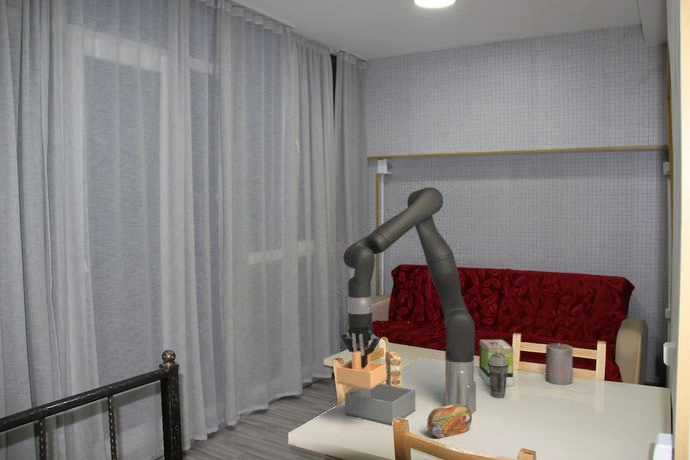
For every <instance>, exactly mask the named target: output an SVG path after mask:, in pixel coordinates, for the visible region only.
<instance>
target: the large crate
mask: <svg viewBox="0 0 690 460" xmlns="http://www.w3.org/2000/svg"><path fill="white" fill-rule="evenodd" d="M344 412H345V413H344V415H345V416H349V417H353V418H357V419H361V420H366V421H370V422H375V423H379V424H382V425H387V426H392V422H393V419H394V418H397V417H399V418H404V419H406V418H407V417H408V416H410V415H411V414H413V413H414V412H416V389H412V388H411V389H410V388H407V387H402V386H401V387H396V386H391V385H386V383H385V384H384V383H381V384H379V385H377V386H375V387H374V388H372V389H366V388H360V387H355V388H354V389H352V390H350V391H348V392H346V393H345V394H344ZM392 427H393V426H392Z"/></svg>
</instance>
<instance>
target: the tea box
mask: <svg viewBox="0 0 690 460" xmlns="http://www.w3.org/2000/svg"><path fill="white" fill-rule="evenodd" d="M498 340H499V353H501V354H503V355H505V356H506V358H507V360H508V364H509V366H508V371H507V379H506V387H513V386H514V347H513V346H511V345H510V344H509V343H508V342H507V341H505V340H504V339H479V353H478V354H479V356H478V357H479V358H478V359H479V361H478V362H479V365H478V367H479V368H478V369H479V371H478V372H479V373H478V375H479V376H480V377H481V379H482V380H483V381H484V383H485V384H486V385H487V386H490V387H491V384H490V372H489V367H488V360H489V358H490V356H491V355H492V354H494V353H498Z"/></svg>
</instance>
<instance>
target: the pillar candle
mask: <svg viewBox="0 0 690 460" xmlns="http://www.w3.org/2000/svg"><path fill="white" fill-rule="evenodd" d="M545 348H546V349H545V382H547V383H549V384H552V385H558V386H564V385H565V386H566V385H570V384H572V383H573V349H574V346H571V345H569V344H566V343H565V344H564V343H560V342H558V343H556V342H555V343H548V344H546V346H545Z"/></svg>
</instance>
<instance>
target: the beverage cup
mask: <svg viewBox="0 0 690 460" xmlns="http://www.w3.org/2000/svg"><path fill="white" fill-rule="evenodd" d="M497 340H498V353H494V354H492V355H491V356H490V358H489V360H488V367H489V372H490V384H491V386H490V391H491V392H490V394H491V397H492V398H495V399H504V398H505V397H506V391H507V390H506V389H507V386H506V379H507V371H508V366H509V364H508V360H507V358H506V356H505V355H503V354H501V353H499V340H500V339H497Z"/></svg>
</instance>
